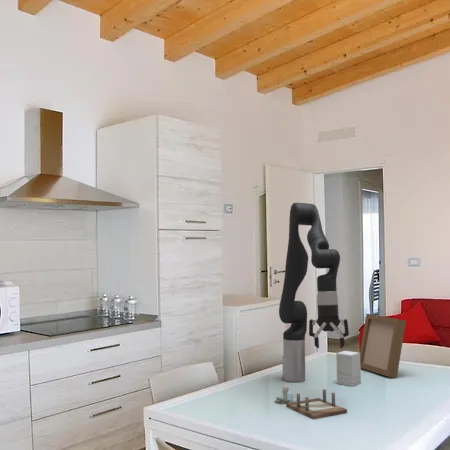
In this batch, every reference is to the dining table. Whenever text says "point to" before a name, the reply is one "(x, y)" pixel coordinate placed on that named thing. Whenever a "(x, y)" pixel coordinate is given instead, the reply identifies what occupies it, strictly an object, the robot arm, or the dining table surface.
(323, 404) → the pin tray
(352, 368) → the supplement box
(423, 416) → the dining table surface
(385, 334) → the photo frame
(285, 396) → the pacifier
